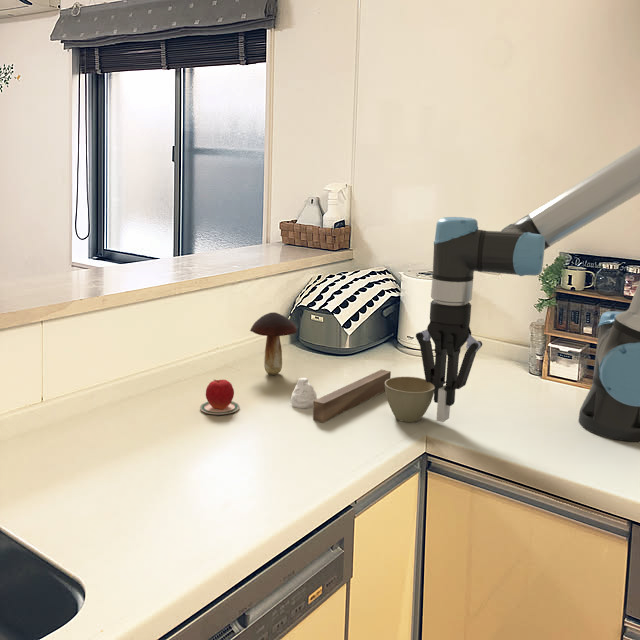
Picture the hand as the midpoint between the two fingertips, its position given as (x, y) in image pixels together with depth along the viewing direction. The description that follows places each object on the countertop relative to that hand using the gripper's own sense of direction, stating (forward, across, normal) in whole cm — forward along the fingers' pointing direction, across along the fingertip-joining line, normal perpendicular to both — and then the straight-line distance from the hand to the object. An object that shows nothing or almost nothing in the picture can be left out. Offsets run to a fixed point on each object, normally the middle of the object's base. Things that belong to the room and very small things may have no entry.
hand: (442, 419), depth 137 cm
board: (+2, +21, 0) cm, 21 cm away
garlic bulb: (+2, +28, +7) cm, 29 cm away
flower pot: (+2, +8, 0) cm, 8 cm away
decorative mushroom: (+2, +46, -5) cm, 46 cm away
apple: (+2, +40, +20) cm, 45 cm away
